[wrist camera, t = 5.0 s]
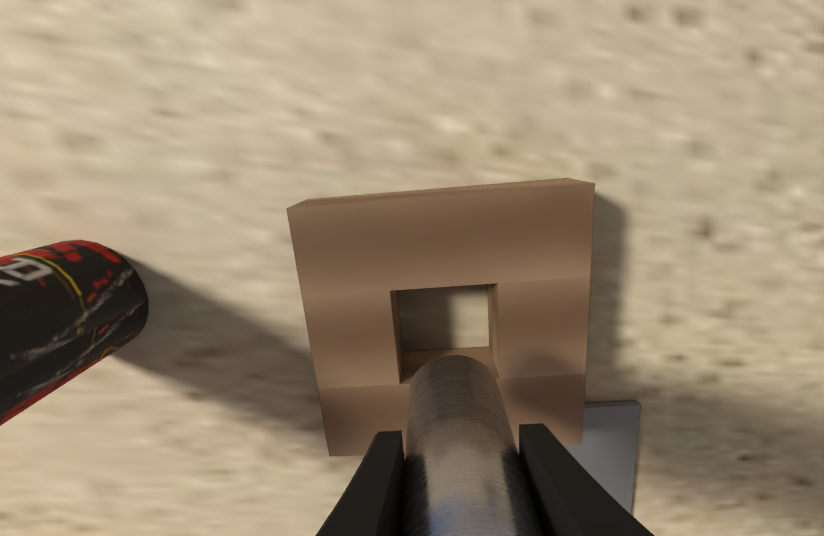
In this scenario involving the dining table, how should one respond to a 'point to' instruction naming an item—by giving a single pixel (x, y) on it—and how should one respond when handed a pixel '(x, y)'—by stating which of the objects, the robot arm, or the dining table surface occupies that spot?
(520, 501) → the peg
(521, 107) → the dining table surface
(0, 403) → the deodorant
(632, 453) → the mat
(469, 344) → the dining table surface
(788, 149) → the dining table surface
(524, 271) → the hole block
